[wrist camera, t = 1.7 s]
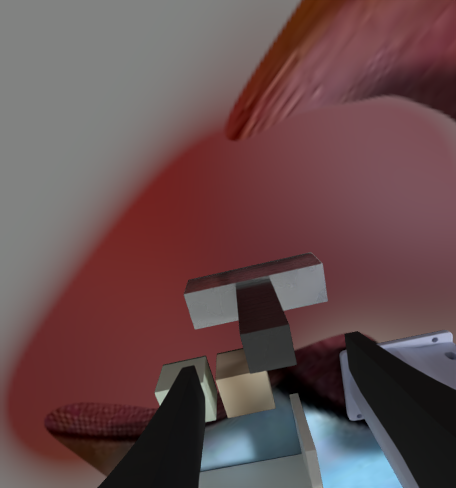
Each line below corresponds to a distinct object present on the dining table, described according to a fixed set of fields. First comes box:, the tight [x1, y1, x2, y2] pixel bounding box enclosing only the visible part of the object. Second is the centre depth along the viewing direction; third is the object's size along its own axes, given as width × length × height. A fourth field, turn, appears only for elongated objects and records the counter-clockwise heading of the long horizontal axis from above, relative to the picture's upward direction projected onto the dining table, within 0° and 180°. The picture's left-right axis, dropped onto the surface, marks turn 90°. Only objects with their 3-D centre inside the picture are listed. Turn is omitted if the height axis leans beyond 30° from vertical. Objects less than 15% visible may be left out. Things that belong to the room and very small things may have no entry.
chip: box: [216, 348, 276, 418], centre depth 22 cm, size 4×4×3 cm
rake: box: [184, 252, 328, 374], centre depth 17 cm, size 10×3×8 cm, turn 103°
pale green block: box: [155, 356, 217, 422], centre depth 22 cm, size 4×4×3 cm
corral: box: [199, 393, 323, 488], centre depth 23 cm, size 14×9×5 cm, turn 103°
